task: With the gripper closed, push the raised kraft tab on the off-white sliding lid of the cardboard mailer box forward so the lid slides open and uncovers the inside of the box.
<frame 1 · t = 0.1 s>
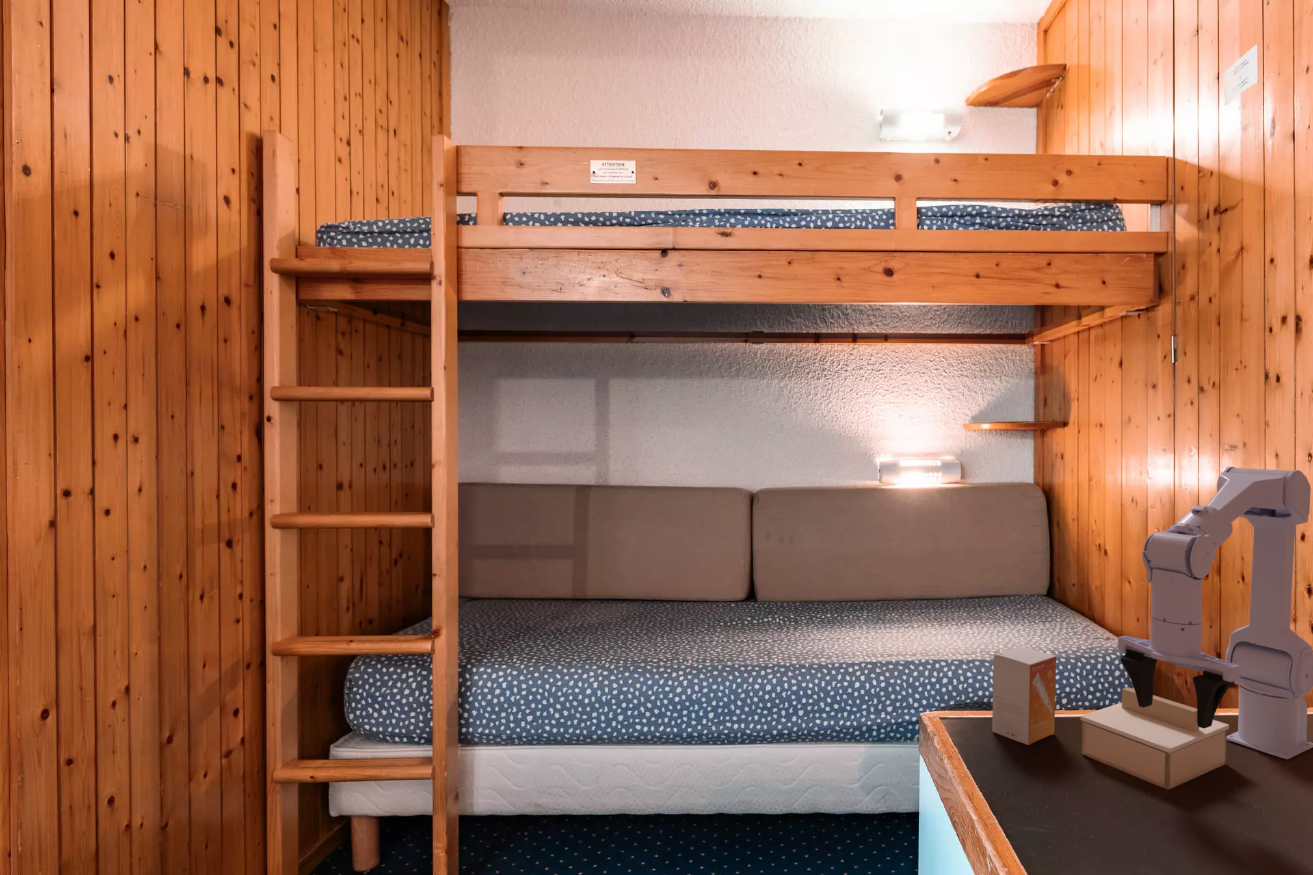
hand: (1173, 715, 100), 10 cm above the table, tool pointing down, fingers open, 7 cm apart
small box: (1023, 734, 117), on the table
mailer box: (1152, 758, 108), on the table
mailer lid: (1153, 712, 108), point 7 cm above the table, slide at 0.0 cm
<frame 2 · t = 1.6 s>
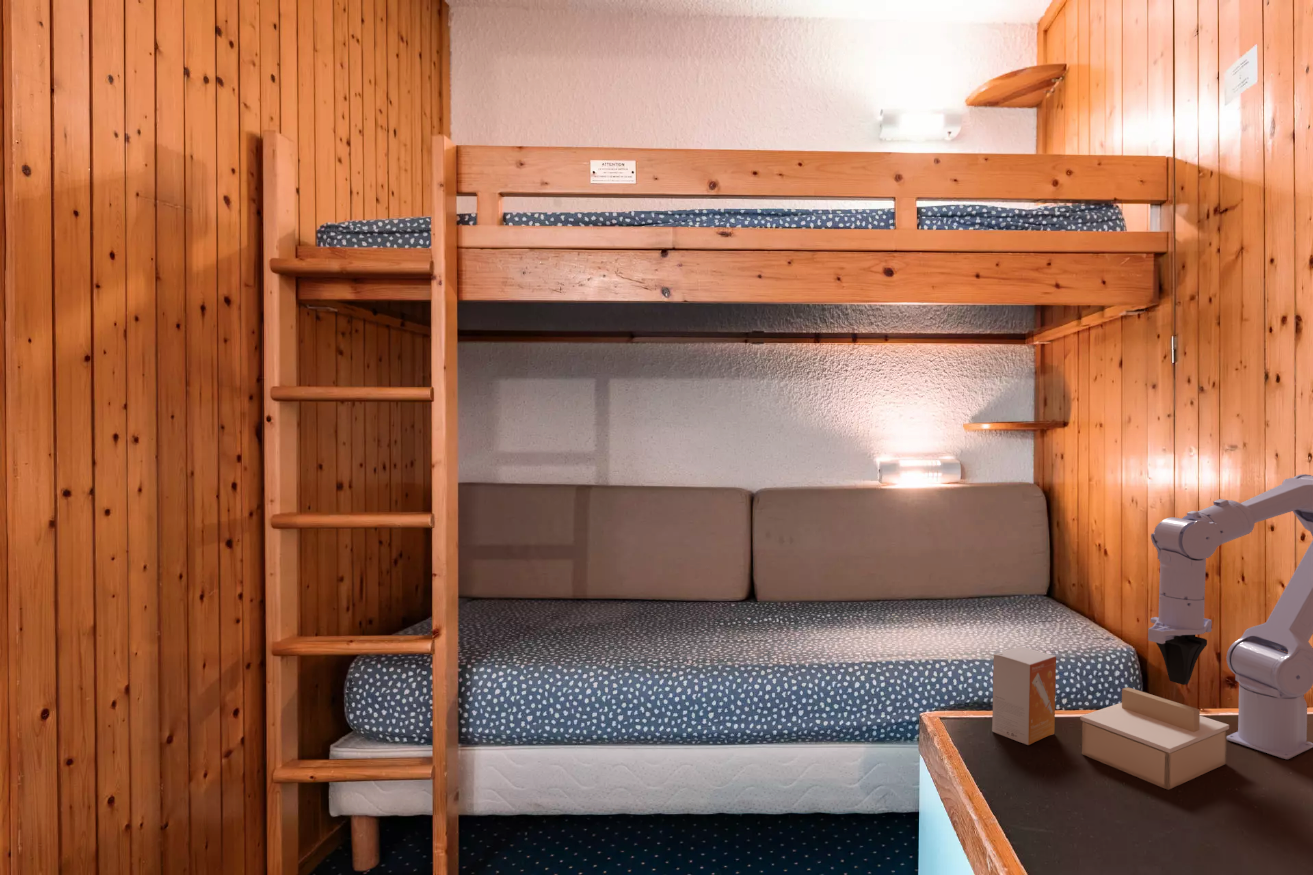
hand: (1178, 682, 112), 10 cm above the table, tool pointing down, fingers closed
nothing on the table moved.
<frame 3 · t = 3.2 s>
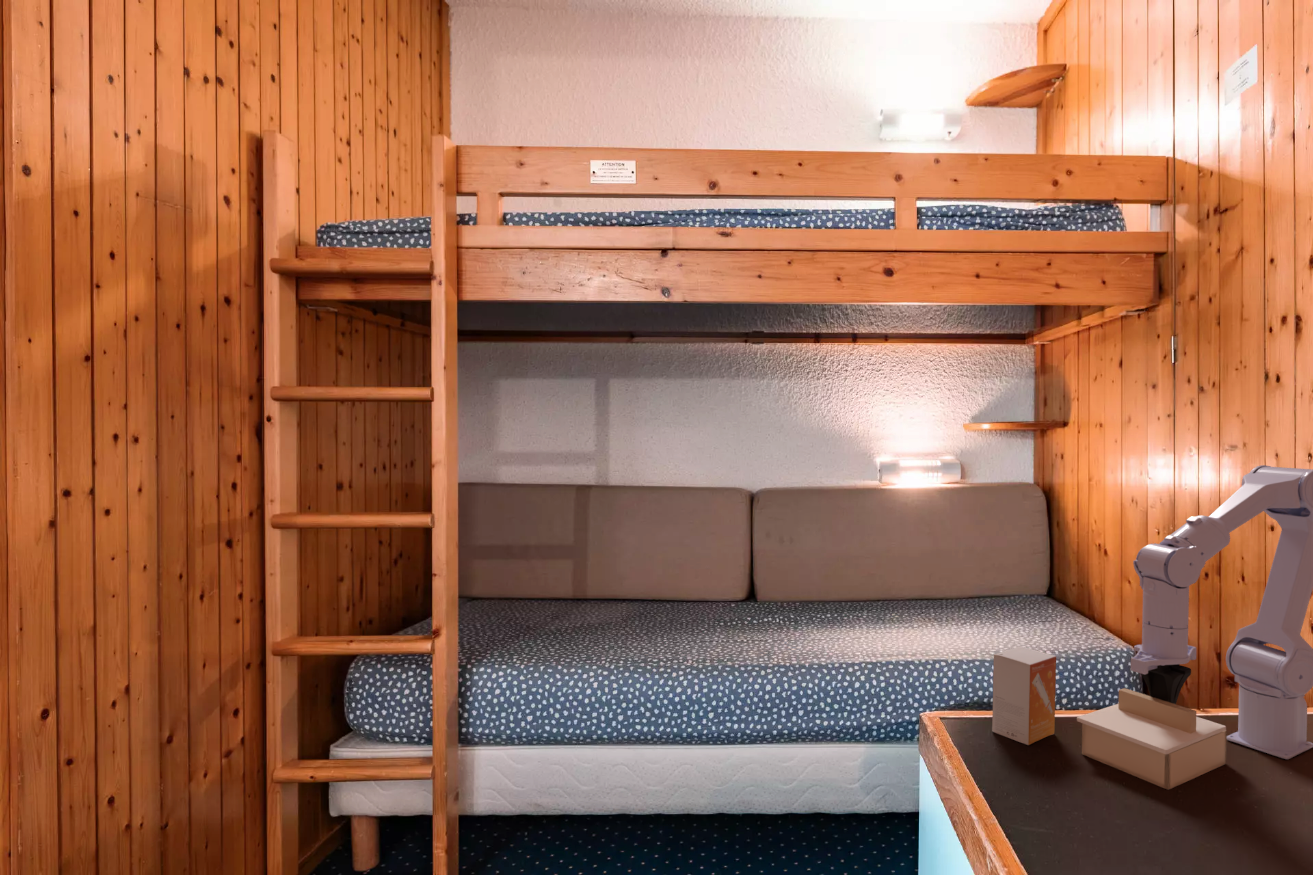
hand: (1163, 711, 109), 7 cm above the table, tool pointing down, fingers closed
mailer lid: (1150, 713, 108), point 7 cm above the table, slide at 0.9 cm, touching gripper
everything else where it was.
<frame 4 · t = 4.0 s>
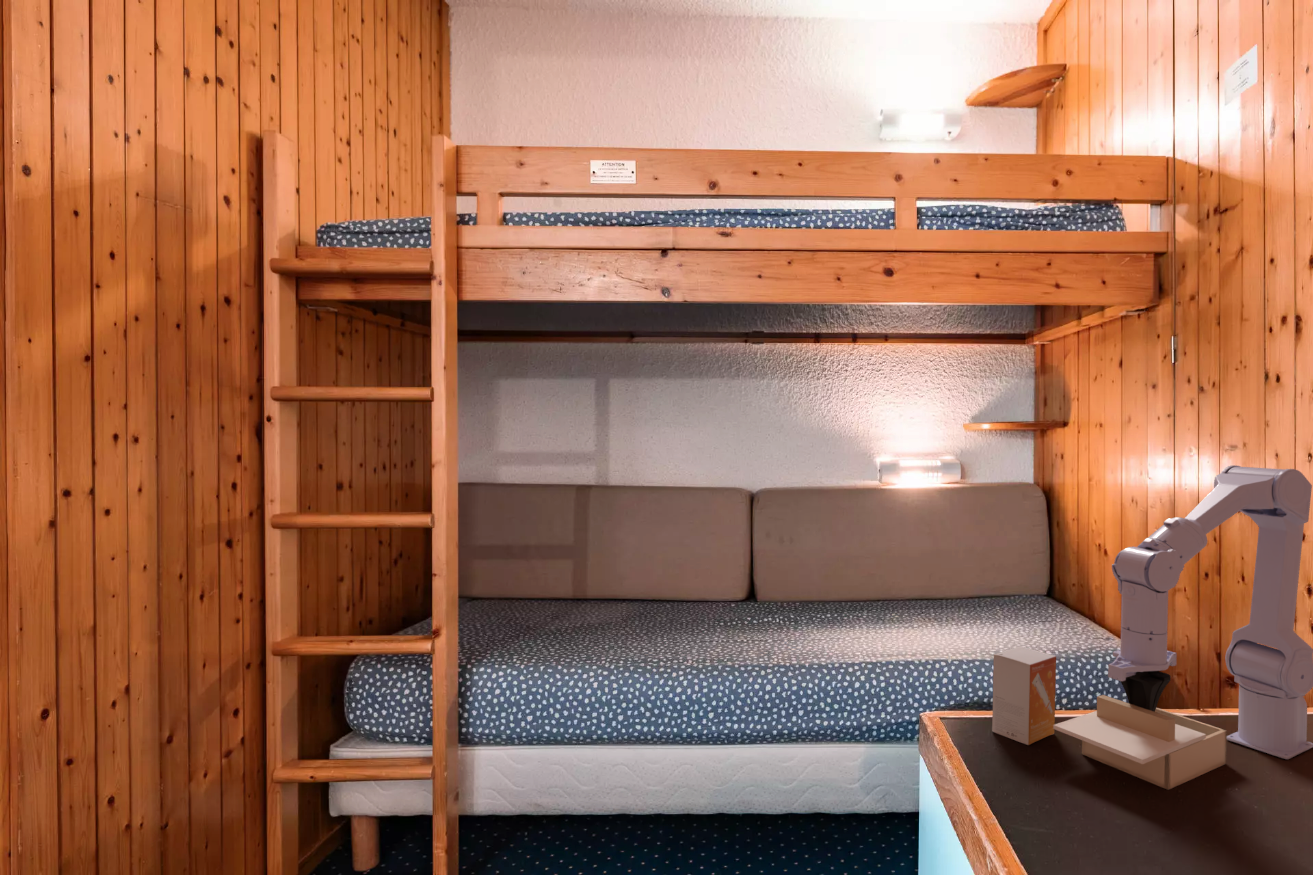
hand: (1142, 719, 107), 7 cm above the table, tool pointing down, fingers closed
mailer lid: (1128, 721, 105), point 7 cm above the table, slide at 6.7 cm, touching gripper
everything else where it was.
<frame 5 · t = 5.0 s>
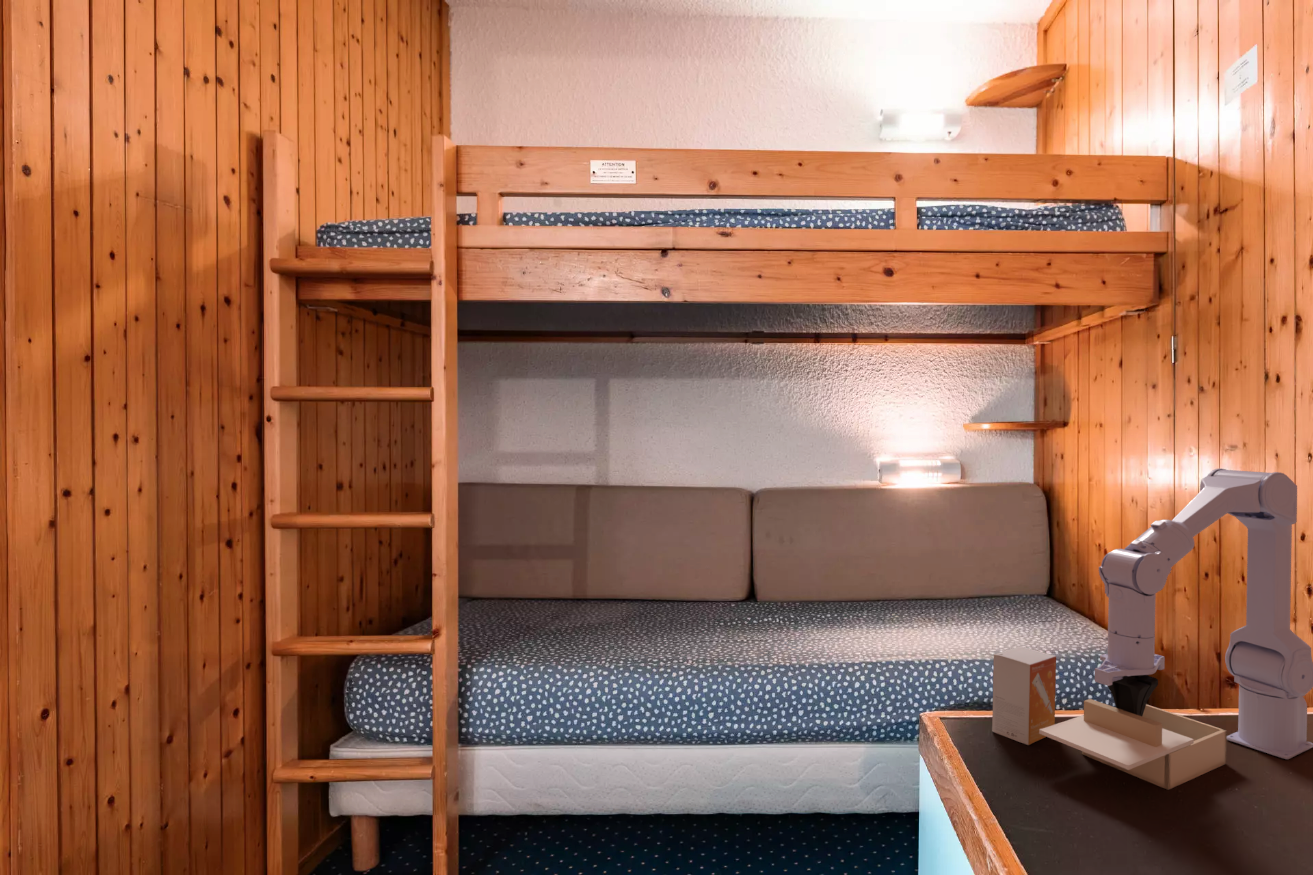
hand: (1129, 724, 105), 7 cm above the table, tool pointing down, fingers closed
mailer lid: (1115, 725, 103), point 7 cm above the table, slide at 10.1 cm, touching gripper
everything else where it was.
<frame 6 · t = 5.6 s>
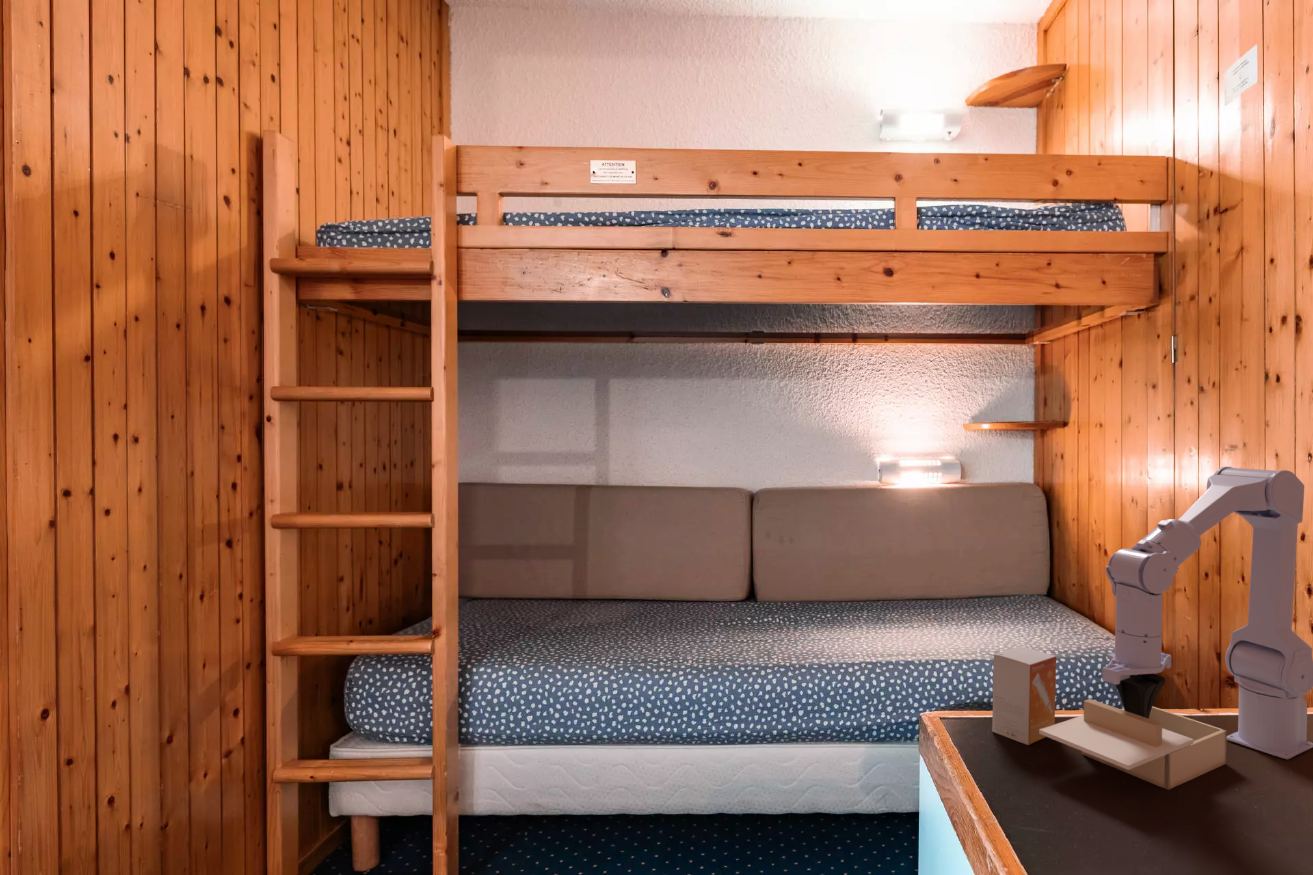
hand: (1136, 722, 106), 6 cm above the table, tool pointing down, fingers closed
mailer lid: (1115, 725, 103), point 7 cm above the table, slide at 10.1 cm
everything else where it was.
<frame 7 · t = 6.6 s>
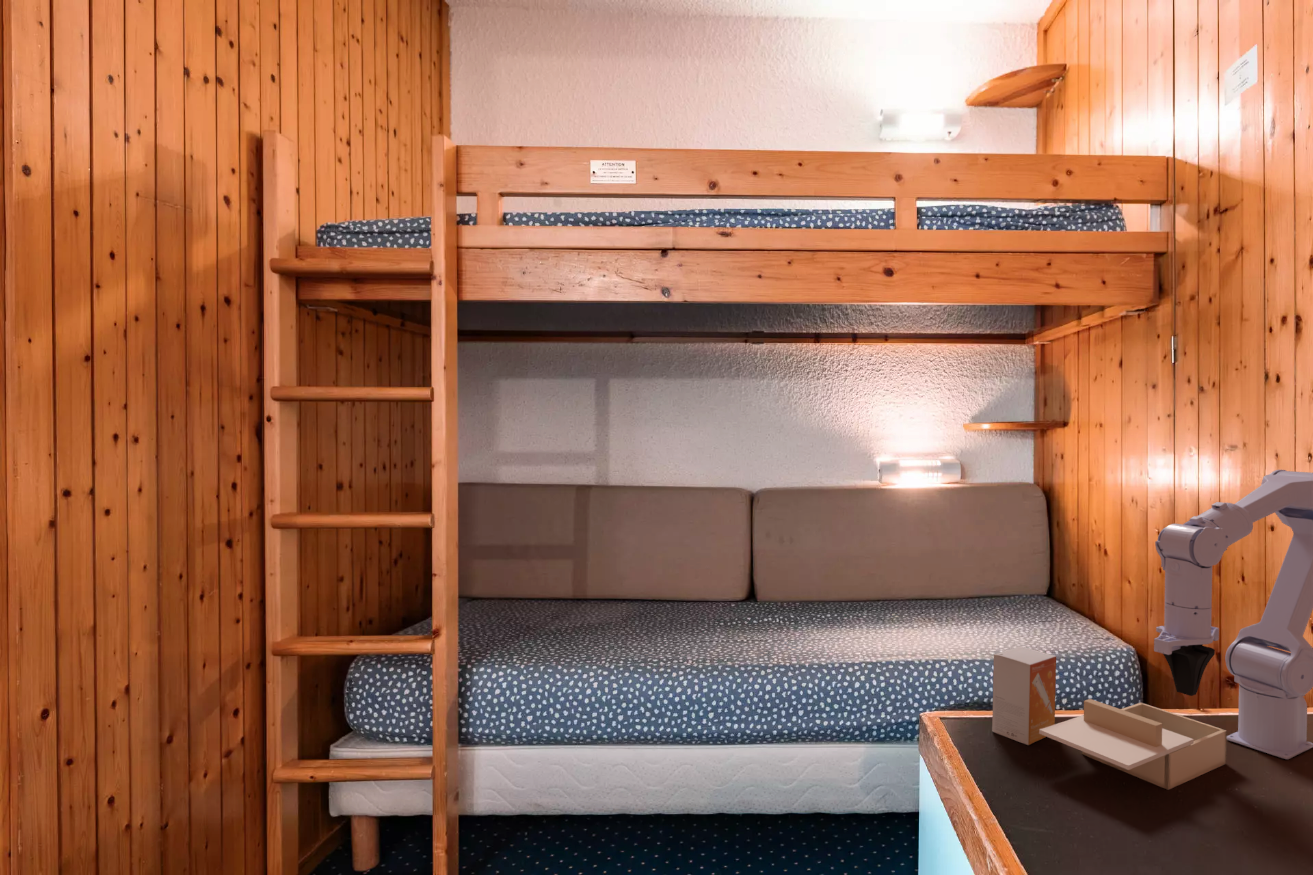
hand: (1186, 693, 109), 10 cm above the table, tool pointing down, fingers closed
nothing on the table moved.
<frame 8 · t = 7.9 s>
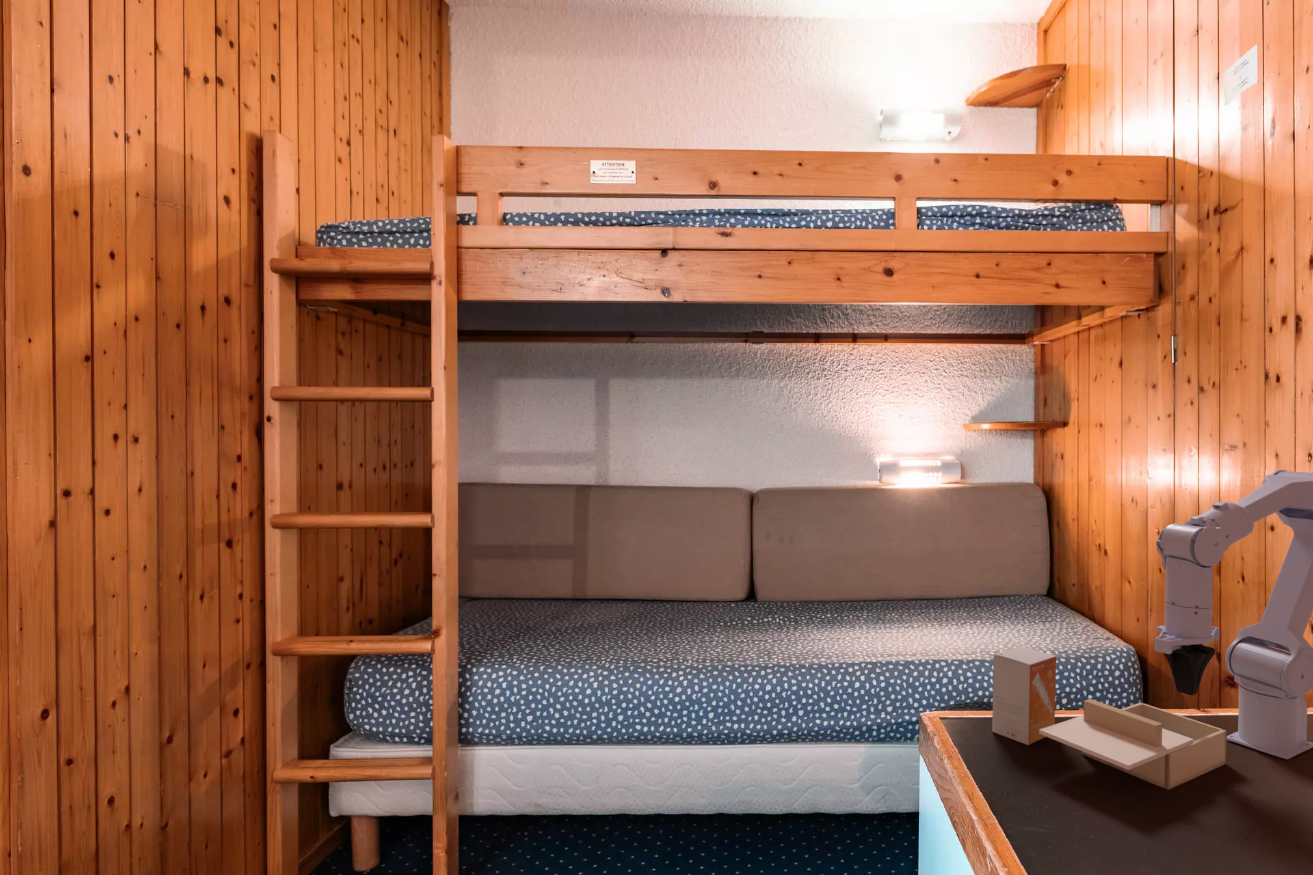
hand: (1186, 692, 109), 10 cm above the table, tool pointing down, fingers closed
nothing on the table moved.
at the end: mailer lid slide at 10.1 cm; small box moved 0.2 cm from its start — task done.
